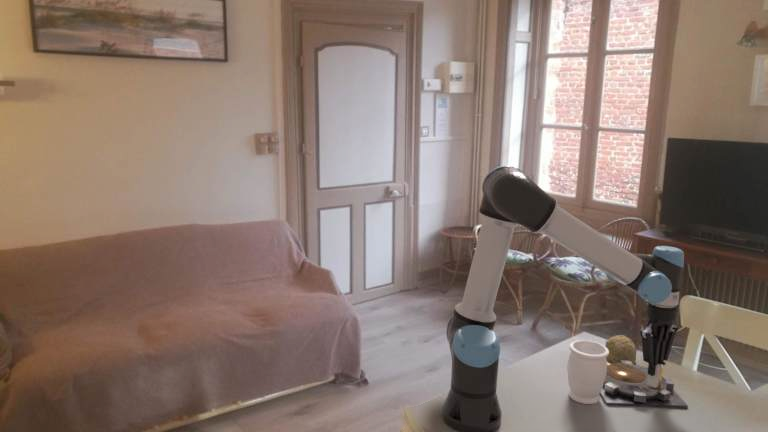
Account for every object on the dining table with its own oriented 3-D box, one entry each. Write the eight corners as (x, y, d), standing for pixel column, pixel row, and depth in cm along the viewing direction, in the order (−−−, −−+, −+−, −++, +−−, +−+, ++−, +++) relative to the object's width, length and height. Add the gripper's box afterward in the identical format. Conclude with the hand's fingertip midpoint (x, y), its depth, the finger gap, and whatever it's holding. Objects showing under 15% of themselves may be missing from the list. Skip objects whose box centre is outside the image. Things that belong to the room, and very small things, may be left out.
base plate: (582, 367, 184) (582, 364, 184) (653, 370, 184) (654, 367, 183) (606, 405, 163) (606, 401, 162) (687, 408, 162) (688, 404, 162)
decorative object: (621, 363, 196) (607, 335, 198) (648, 356, 189) (633, 327, 190) (608, 374, 190) (593, 345, 192) (634, 367, 183) (619, 337, 184)
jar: (606, 409, 161) (612, 358, 157) (566, 404, 162) (571, 353, 159) (600, 390, 171) (605, 341, 167) (563, 385, 173) (567, 337, 169)
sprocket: (577, 376, 176) (580, 351, 174) (622, 360, 187) (625, 336, 186) (643, 410, 158) (646, 383, 157) (688, 389, 170) (692, 364, 168)
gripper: (658, 311, 154) (648, 395, 158) (690, 305, 160) (679, 386, 164) (634, 302, 160) (625, 383, 164) (665, 297, 166) (655, 375, 170)
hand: (652, 385), depth 164 cm, fingers closed
